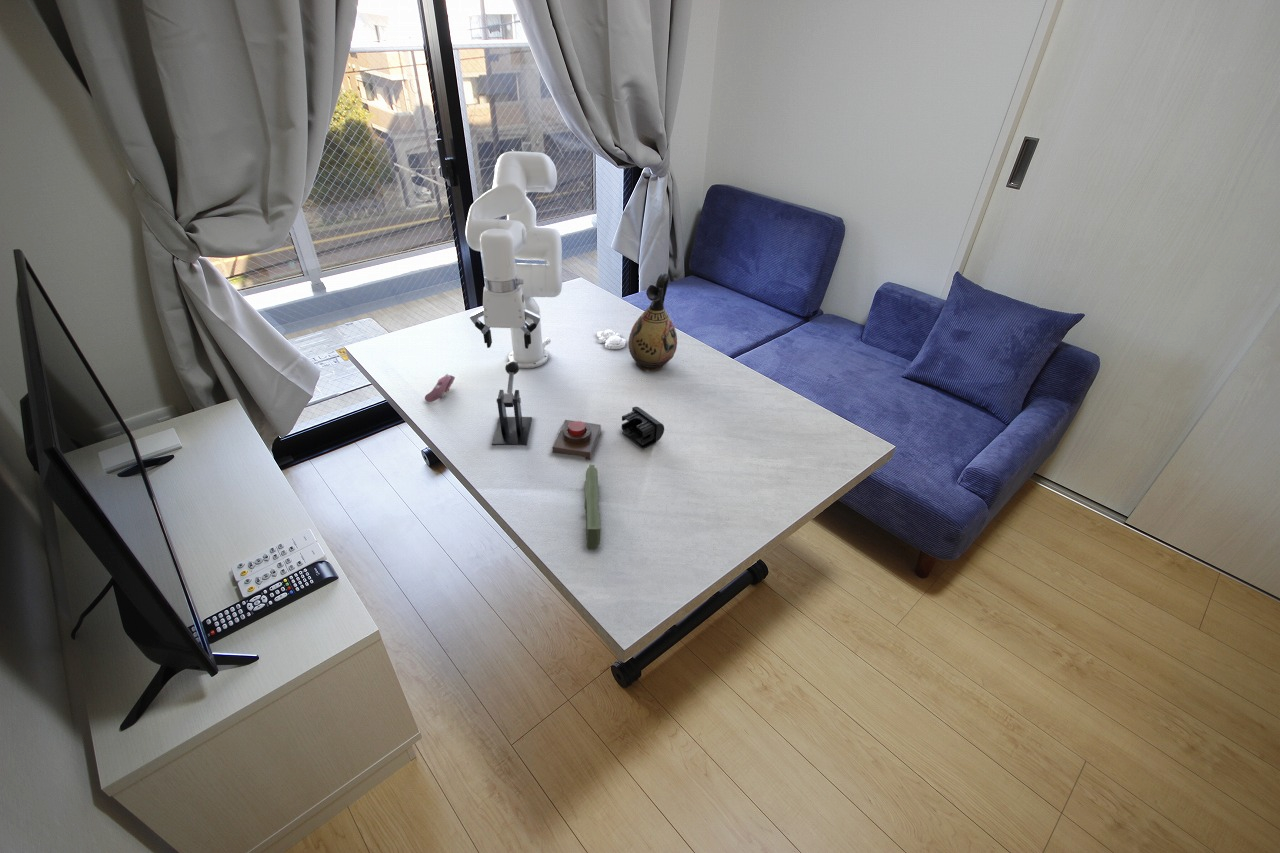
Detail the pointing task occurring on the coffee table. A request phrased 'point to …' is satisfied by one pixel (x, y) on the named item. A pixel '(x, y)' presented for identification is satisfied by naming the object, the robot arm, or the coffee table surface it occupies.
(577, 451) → the button box
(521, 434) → the switch bracket
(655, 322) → the ceramic jug
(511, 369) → the switch lever
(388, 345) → the coffee table surface
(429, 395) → the video game controller
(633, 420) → the end cap
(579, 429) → the button
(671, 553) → the coffee table surface
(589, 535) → the handheld radio
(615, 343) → the white fluffy lump
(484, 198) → the robot arm
